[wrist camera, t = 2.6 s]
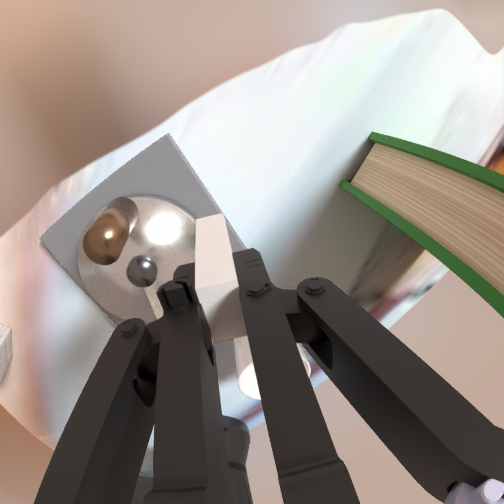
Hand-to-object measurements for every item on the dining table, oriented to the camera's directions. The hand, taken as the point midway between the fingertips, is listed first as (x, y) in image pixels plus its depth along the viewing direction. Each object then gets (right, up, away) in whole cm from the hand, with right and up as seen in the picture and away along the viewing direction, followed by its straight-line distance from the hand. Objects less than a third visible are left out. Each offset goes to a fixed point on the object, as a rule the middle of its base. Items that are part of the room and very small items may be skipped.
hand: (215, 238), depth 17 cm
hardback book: (+21, +6, +18) cm, 28 cm away
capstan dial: (-9, -1, +14) cm, 16 cm away
